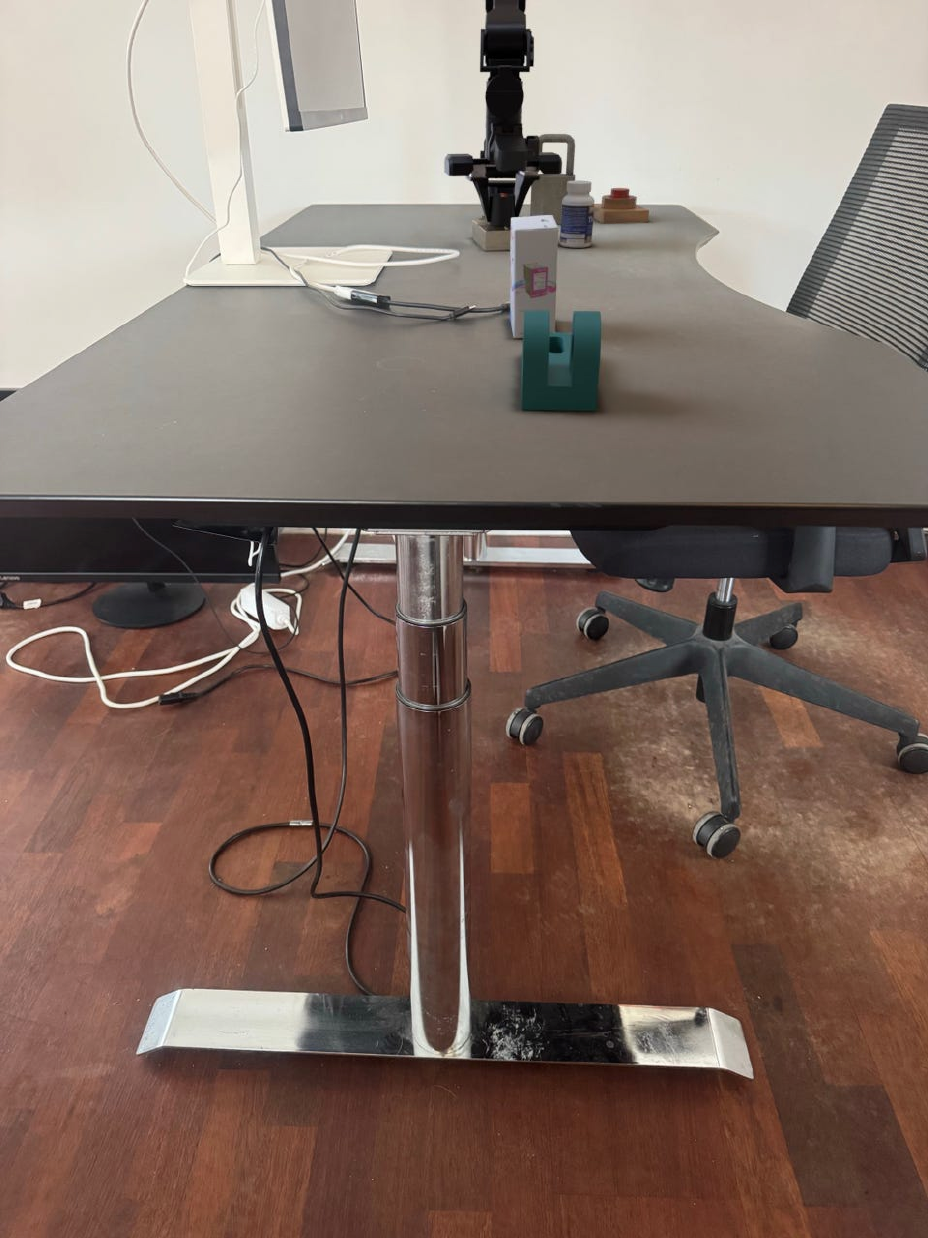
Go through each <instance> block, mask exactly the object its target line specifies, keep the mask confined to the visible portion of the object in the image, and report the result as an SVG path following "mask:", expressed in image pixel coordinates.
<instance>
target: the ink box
mask: <svg viewBox="0 0 928 1238" xmlns="http://www.w3.org/2000/svg"><path fill="white" fill-rule="evenodd" d="M558 243H559V225H558V224H556V222H555V220H554V218H553V215H541V216H530V215H527V216H519V217H513V218H511V243H510V250H509V251H510V252H509V255H510V257H509V258H510V259H509V260H510V261H509V264H510V265H509V269H510V271H509V274H510V276H509V277H510V279H509V296H510V297H509V315H510V316H509V320H510V321H509V322H510V325H511V331H512V336H513V339H523V329H524V310H534V311H550V332H556V311H557V310H556V307H557V277H558V276H557V275H558V245H559V244H558Z"/></svg>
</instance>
